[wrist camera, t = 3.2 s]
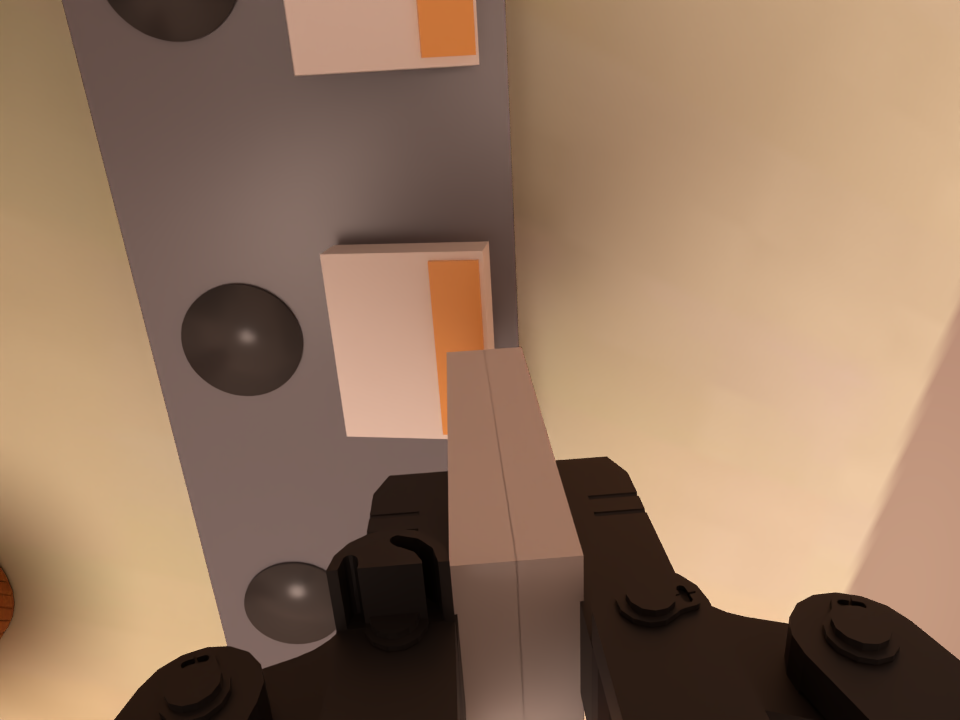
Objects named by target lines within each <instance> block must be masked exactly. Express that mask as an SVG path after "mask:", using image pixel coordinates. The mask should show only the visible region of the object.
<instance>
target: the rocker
mask: <svg viewBox="0 0 960 720" xmlns="http://www.w3.org/2000/svg"><path fill="white" fill-rule="evenodd" d="M283 3H284V9H285V16H286V23H287V30H288V36H289V43H290V50H291V57H292V63H293V70H294V76H308V75H325V74H342V73H359V72H376V71H393V70H410V69H427V68H444V67H461V66H473V65H479V47H478V28H477V10H476V0H283Z"/></svg>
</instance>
